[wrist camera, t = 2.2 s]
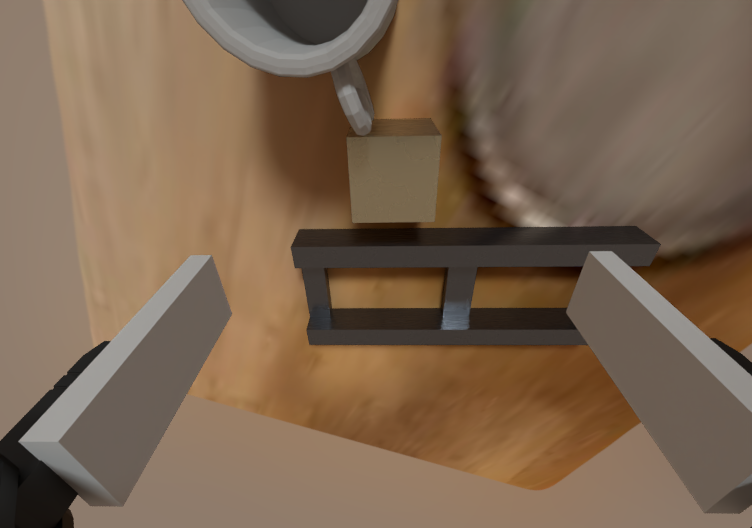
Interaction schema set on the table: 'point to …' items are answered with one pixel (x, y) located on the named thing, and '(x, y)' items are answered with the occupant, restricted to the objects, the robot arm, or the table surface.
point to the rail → (452, 281)
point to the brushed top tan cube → (394, 171)
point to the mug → (303, 40)
